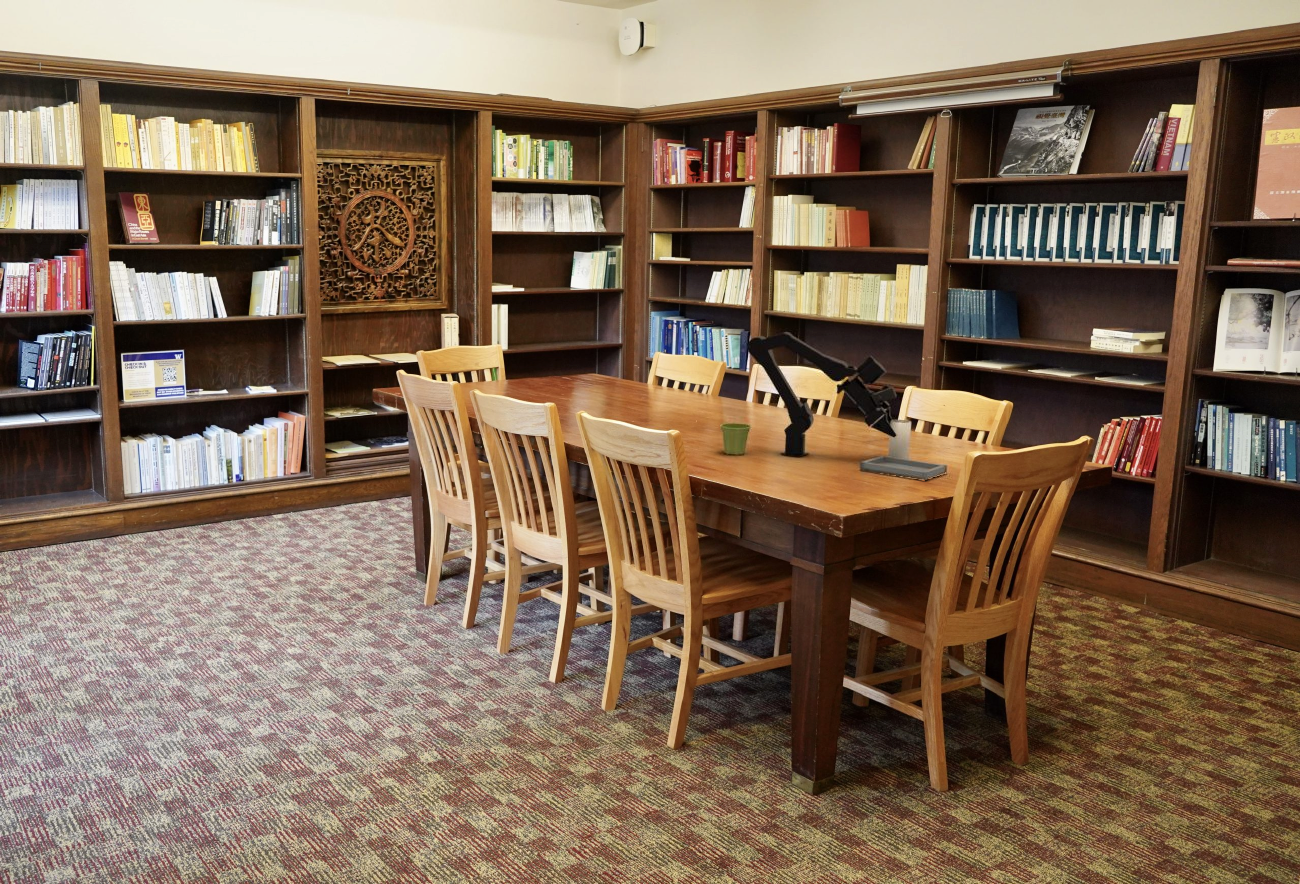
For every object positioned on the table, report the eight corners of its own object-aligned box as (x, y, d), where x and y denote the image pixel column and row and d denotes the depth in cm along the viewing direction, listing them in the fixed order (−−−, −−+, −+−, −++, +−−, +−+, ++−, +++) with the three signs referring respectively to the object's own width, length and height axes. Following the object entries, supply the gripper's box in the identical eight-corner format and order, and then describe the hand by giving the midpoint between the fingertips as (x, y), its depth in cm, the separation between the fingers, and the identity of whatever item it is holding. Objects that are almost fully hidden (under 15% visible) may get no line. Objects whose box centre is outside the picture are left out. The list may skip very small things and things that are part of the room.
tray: (924, 481, 307) (925, 472, 306) (859, 470, 319) (860, 462, 319) (946, 474, 317) (947, 465, 317) (882, 463, 330) (883, 455, 329)
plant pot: (724, 457, 334) (726, 428, 332) (714, 451, 343) (715, 423, 341) (754, 456, 336) (755, 427, 335) (743, 450, 345) (744, 422, 344)
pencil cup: (902, 465, 328) (905, 423, 326) (884, 462, 332) (886, 421, 329) (911, 463, 333) (914, 421, 330) (893, 460, 336) (896, 419, 334)
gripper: (878, 380, 320) (915, 420, 319) (883, 373, 338) (918, 411, 337) (849, 406, 324) (886, 446, 323) (856, 397, 342) (890, 435, 341)
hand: (896, 433), depth 331 cm, fingers open, 9 cm apart
